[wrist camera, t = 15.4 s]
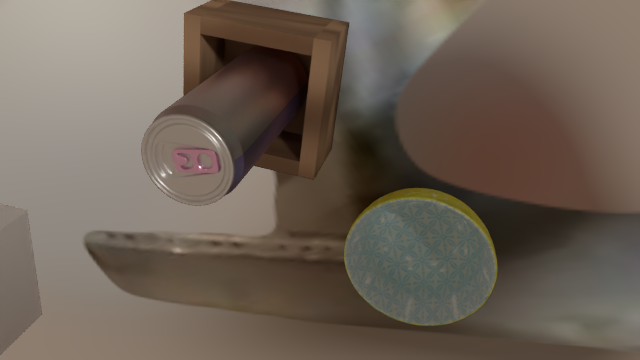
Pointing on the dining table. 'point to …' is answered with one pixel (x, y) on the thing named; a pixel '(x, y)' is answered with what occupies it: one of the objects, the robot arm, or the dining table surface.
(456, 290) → the bowl
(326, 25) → the wooden box
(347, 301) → the dining table surface
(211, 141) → the beverage can
